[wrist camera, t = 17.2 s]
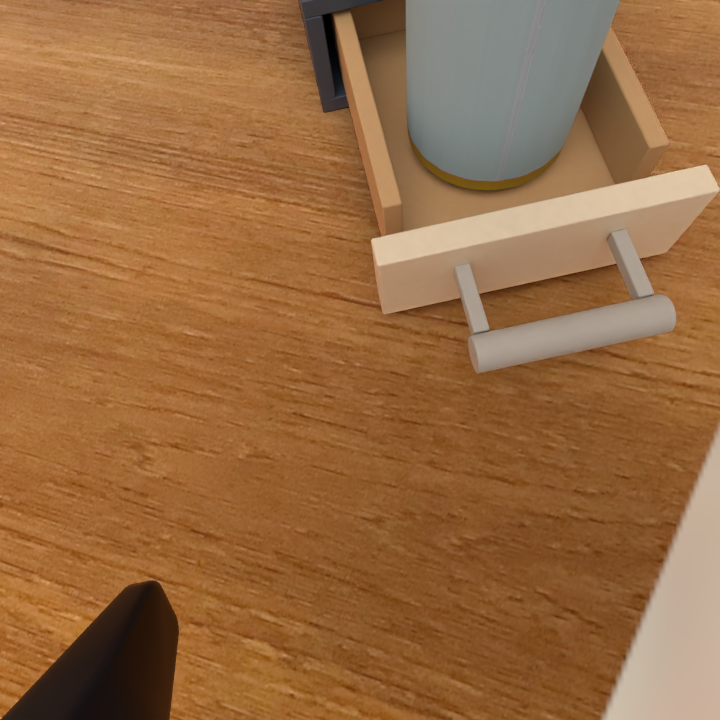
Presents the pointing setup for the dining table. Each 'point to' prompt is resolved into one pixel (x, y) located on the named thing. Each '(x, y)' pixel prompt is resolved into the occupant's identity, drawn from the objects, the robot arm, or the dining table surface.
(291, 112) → the dining table surface
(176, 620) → the robot arm
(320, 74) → the cabinet
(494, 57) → the bottle
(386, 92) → the drawer
